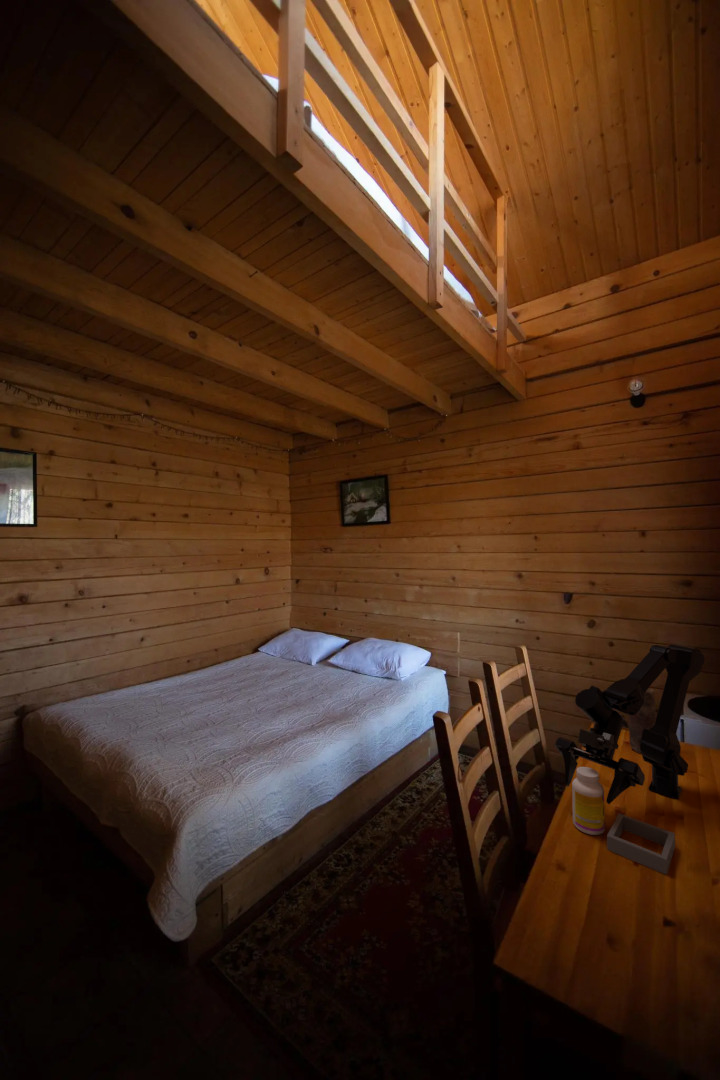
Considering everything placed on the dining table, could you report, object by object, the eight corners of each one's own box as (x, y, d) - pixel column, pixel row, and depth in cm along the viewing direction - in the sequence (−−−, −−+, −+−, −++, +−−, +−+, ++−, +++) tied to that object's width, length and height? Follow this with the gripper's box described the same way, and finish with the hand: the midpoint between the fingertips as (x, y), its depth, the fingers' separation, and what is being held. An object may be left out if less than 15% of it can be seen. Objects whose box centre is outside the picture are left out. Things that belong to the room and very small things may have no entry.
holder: (619, 825, 101) (619, 813, 101) (675, 847, 94) (674, 833, 94) (607, 849, 93) (606, 835, 93) (666, 875, 86) (666, 859, 86)
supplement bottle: (609, 838, 97) (608, 780, 97) (577, 834, 98) (576, 778, 98) (599, 819, 103) (598, 765, 103) (569, 816, 105) (568, 763, 105)
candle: (623, 745, 141) (622, 683, 141) (645, 743, 141) (643, 682, 142) (640, 756, 133) (639, 691, 133) (663, 755, 134) (662, 690, 134)
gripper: (557, 704, 111) (535, 762, 104) (638, 728, 96) (620, 796, 89) (572, 727, 116) (552, 783, 109) (652, 752, 101) (635, 819, 94)
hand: (586, 794), depth 100 cm, fingers open, 9 cm apart
